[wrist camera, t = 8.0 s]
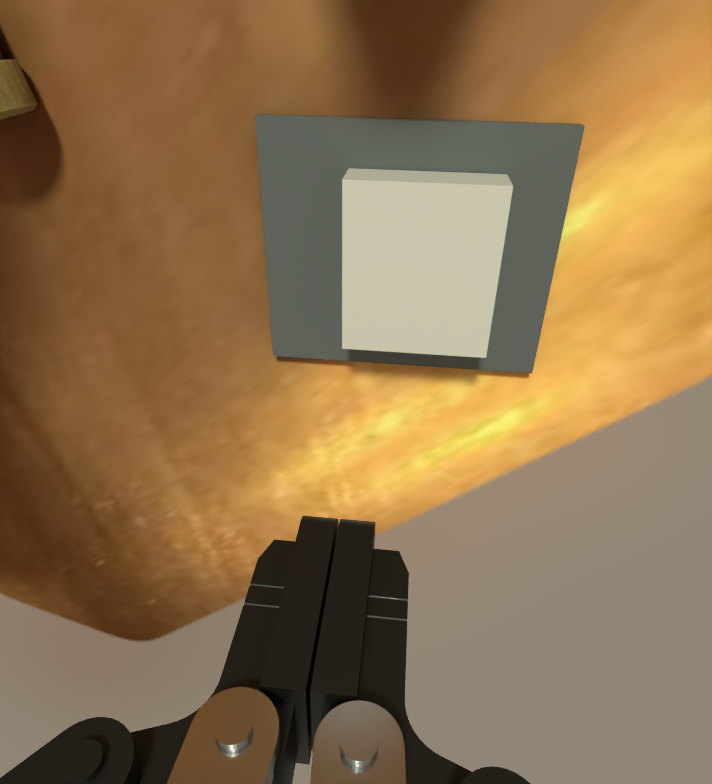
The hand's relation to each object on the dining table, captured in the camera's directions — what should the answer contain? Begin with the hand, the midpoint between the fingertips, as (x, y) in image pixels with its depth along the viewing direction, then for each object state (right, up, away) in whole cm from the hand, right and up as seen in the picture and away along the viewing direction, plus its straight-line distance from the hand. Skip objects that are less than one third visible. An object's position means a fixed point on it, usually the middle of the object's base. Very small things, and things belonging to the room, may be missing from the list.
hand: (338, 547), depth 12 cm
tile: (0, +9, +15) cm, 18 cm away
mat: (+3, +10, +16) cm, 19 cm away
